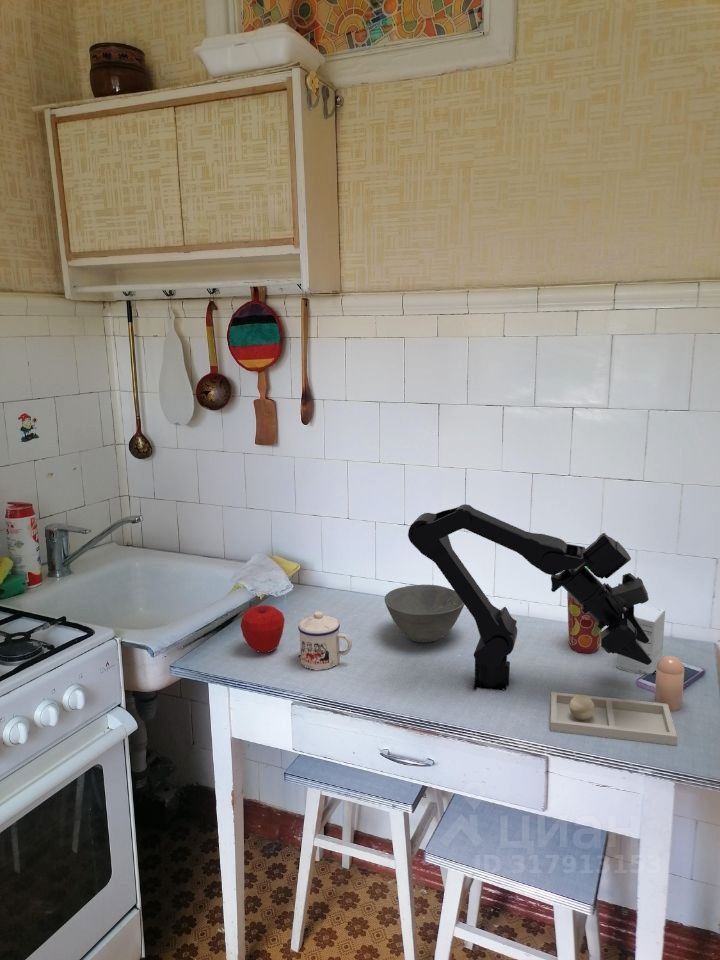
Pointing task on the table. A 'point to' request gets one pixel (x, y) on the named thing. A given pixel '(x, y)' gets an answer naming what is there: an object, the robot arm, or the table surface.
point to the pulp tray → (616, 719)
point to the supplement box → (654, 630)
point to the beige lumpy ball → (581, 707)
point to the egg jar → (669, 682)
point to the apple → (262, 627)
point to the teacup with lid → (321, 641)
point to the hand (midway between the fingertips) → (648, 652)
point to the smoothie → (582, 628)
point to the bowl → (424, 610)
